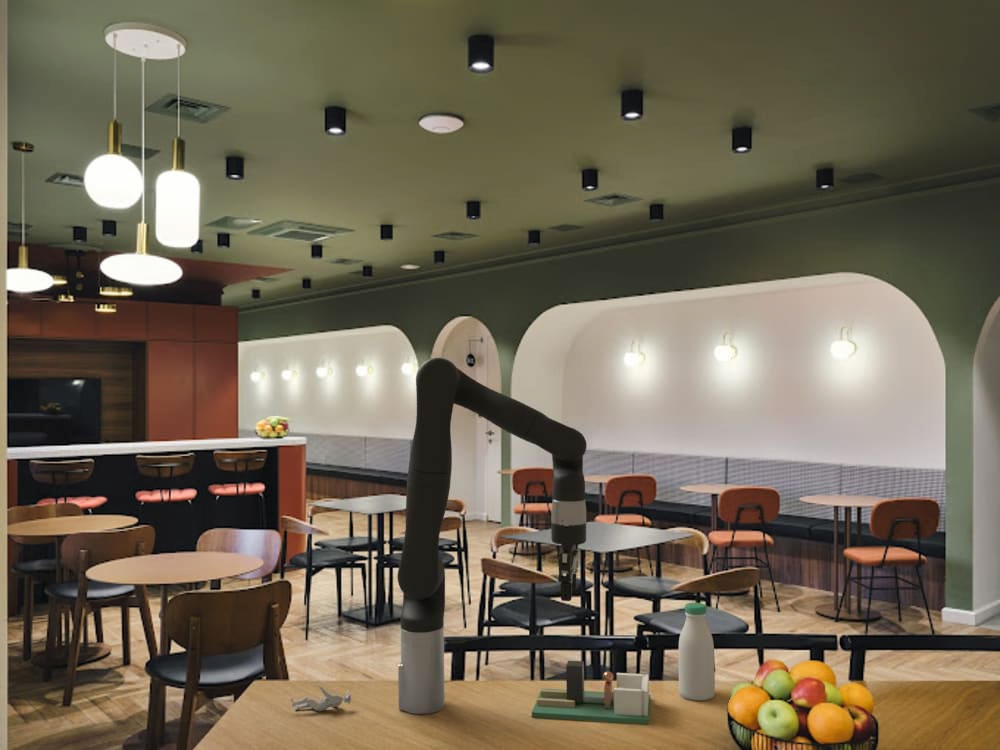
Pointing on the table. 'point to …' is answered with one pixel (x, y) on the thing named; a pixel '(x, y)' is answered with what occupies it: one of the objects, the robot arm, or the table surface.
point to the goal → (631, 694)
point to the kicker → (577, 685)
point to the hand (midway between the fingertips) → (568, 595)
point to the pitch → (580, 709)
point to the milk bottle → (696, 656)
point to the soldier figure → (321, 701)
